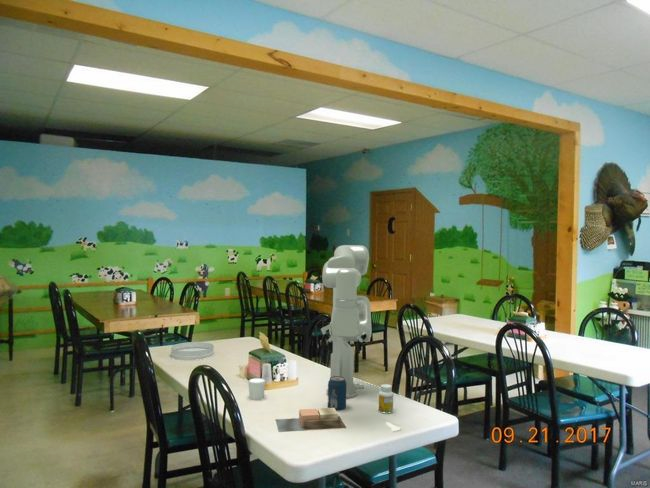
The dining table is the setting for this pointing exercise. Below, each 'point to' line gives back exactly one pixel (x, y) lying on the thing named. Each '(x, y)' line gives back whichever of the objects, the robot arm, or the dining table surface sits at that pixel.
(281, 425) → the chute
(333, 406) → the soda can
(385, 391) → the supplement bottle
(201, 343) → the dish
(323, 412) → the beech block
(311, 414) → the terracotta block
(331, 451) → the dining table surface
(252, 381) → the shot glass
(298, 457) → the dining table surface
